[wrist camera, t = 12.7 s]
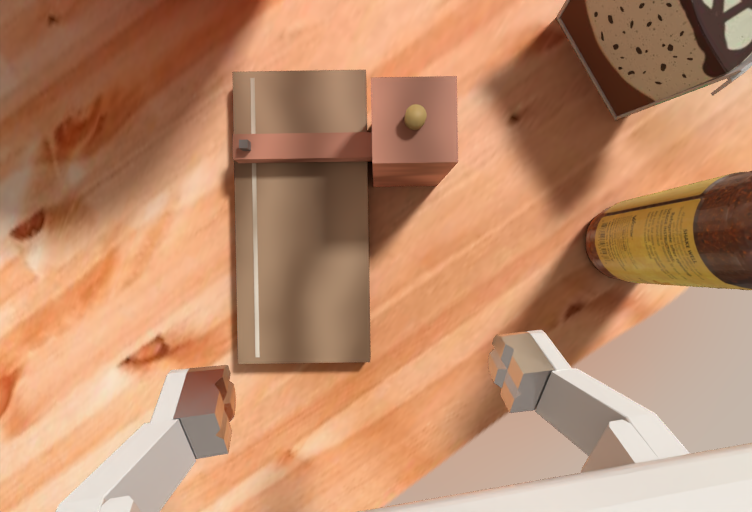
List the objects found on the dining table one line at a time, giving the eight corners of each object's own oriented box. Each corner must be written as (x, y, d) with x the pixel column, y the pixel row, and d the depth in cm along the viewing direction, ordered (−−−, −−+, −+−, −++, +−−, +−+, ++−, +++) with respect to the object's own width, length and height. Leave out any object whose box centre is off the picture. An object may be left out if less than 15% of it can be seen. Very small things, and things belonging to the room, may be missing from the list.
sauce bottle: (625, 296, 30) (1093, 378, 11) (564, 247, 30) (918, 236, 11) (677, 232, 30) (1245, 194, 11) (616, 182, 30) (1070, 50, 11)
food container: (691, 97, 30) (847, 21, 20) (624, 136, 30) (746, 80, 20) (614, -39, 30) (731, -182, 20) (546, 1, 30) (630, -123, 20)
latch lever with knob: (247, 188, 30) (195, 162, 22) (246, 125, 30) (193, 73, 22) (436, 185, 30) (460, 158, 22) (435, 122, 30) (459, 69, 22)
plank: (244, 358, 31) (237, 364, 29) (239, 80, 30) (232, 71, 29) (370, 356, 31) (370, 362, 29) (366, 78, 30) (365, 69, 29)
